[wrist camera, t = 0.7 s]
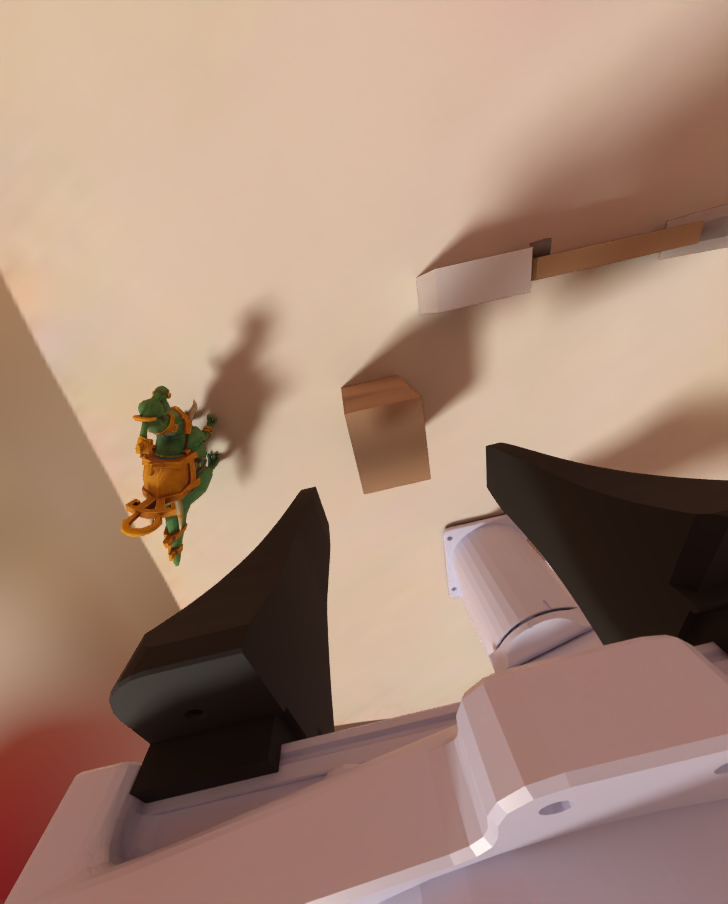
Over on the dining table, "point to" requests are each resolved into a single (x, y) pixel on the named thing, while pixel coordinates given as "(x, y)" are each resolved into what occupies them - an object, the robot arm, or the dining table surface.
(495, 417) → the dining table surface
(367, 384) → the block
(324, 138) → the dining table surface
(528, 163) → the dining table surface
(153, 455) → the figurine
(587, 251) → the door
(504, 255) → the wall frame
